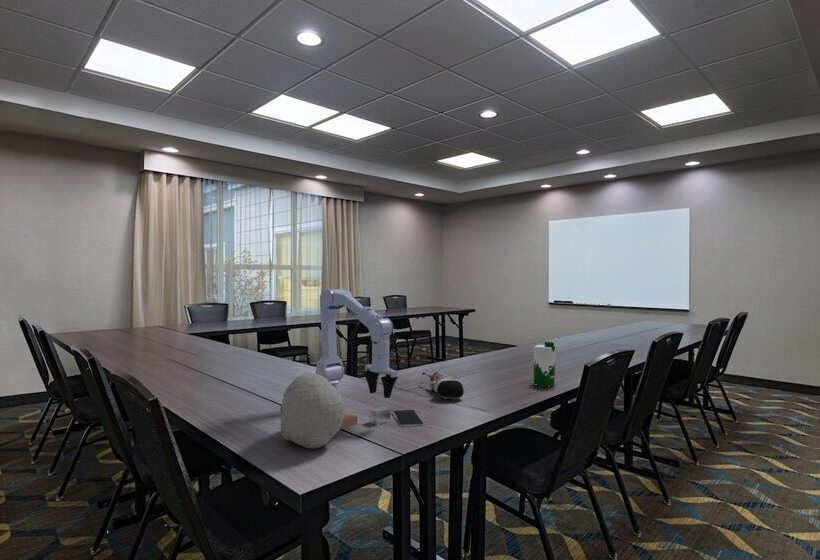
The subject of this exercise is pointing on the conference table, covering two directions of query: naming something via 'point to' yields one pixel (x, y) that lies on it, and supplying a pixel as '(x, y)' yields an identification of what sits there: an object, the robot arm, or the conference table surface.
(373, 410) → the grey rectangular block
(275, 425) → the conference table surface
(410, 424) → the smartphone
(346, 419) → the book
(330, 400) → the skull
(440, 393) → the toy
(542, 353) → the milk carton
